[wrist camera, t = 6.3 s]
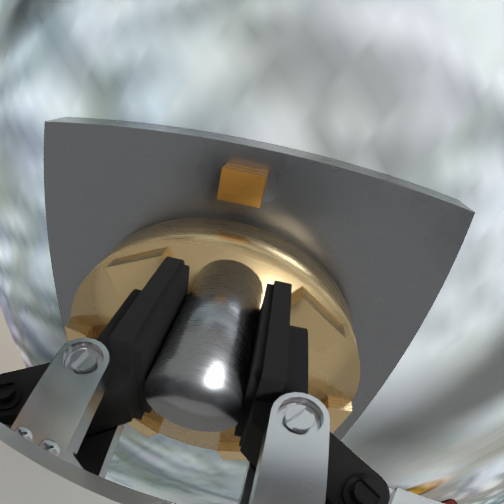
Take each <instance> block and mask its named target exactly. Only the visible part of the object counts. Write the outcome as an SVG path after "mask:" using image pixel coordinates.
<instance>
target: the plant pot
mask: <svg viewBox="0 0 504 504" xmlns="http://www.w3.org/2000/svg"><path fill="white" fill-rule="evenodd" d="M442 503H444V504H457V502H456V501H455V500H449V501H446V502H442Z"/></svg>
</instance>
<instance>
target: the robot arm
mask: <svg viewBox="0 0 504 504" xmlns="http://www.w3.org/2000/svg"><path fill="white" fill-rule="evenodd" d="M189 269H190V268H189V266H188V265H185V262H184V260H182V259H177V258H173V257H169V256H167V257H166V258H165V259H164V261H163V262H162V263H161V265H160V266H159V267H158V269H157V270H156V272H155V273H154V274H153V276H152V277H151V278H150V280H149V281H148V282H147V284H146V285H145V287H144V288H143V289H142V290H138V289H134V290H133V291H132V292H131V293H130V295H129V296H128V297H127V299H126V300H125V301H124V303H123V304H122V305H121V307H120V308H119V309H118V311H117V312H116V313H115V315H114V316H113V318H112V319H111V320H110V322H109V323H108V324H107V326H106V327H105V329H104V330H103V331H102V333H101V334H100V336H99V337H98V338H97V340H95V339H91V338H77V339H74V340H71V341H69V342H67V343H66V344H64V346H63V347H62V348H61V349H60V350H59V352H58V353H57V354H56V356H55V357H54V359H53V360H52V362H51V363H47V364H42V365H38V366H34V367H30V368H25V369H21V370H17V371H13V372H8V373H3V374H0V504H176V503H173V502H169V501H166V500H163V499H159V498H156V497H153V496H150V495H147V494H144V493H141V492H138V491H135V490H132V489H130V488H127V487H124V486H122V485H119V484H116V483H114V482H111V481H109V480H106V479H104V478H105V476H106V473H107V470H108V467H109V465H110V462H111V459H112V456H113V454H114V451H115V448H116V446H117V443H118V440H119V438H120V435H121V432H122V430H123V426H124V424H125V423H128V422H131V421H132V419H133V418H136V419H139V420H141V419H142V417H143V415H144V412H147V413H150V412H151V410H152V407H151V406H150V405H149V404H148V402H147V401H146V398H145V396H144V391H143V389H144V384H145V382H146V380H147V378H148V376H149V374H150V371H151V369H152V367H153V365H154V363H155V361H156V359H157V357H158V355H159V352H160V350H161V348H162V346H163V344H164V342H165V340H166V338H167V336H168V334H169V332H170V330H171V328H172V325H173V323H174V321H175V319H176V317H177V315H178V313H179V311H180V309H181V307H182V305H183V303H184V301H185V299H186V297H187V295H188V282H189ZM291 291H292V284H290V283H285V282H281V281H276V280H275V281H274V284H268V283H267V286H266V290H265V294H264V298H263V302H262V306H261V310H260V315H259V321H258V327H257V332H256V338H255V343H254V349H253V355H252V360H251V366H250V371H249V376H248V382H247V387H246V393H245V398H244V403H243V404H244V411H243V416H242V419H241V421H240V422H239V423H238V424H237V425H236V426H235V431H234V436H238V437H240V442H239V446H240V447H241V448H240V451H241V453H242V454H243V455H244V456H245V457H246V459H247V460H248V465H247V469H246V473H245V477H244V482H243V486H242V490H241V494H240V498H239V502H238V504H444V503H441V502H438V501H435V500H431V499H428V498H425V497H422V496H420V495H417V494H414V493H411V492H408V491H405V490H403V489H400V488H396V489H395V490H393V489H391V488H388V486H387V483H386V482H385V481H384V480H383V479H382V477H381V476H379V475H378V474H377V473H376V472H375V471H374V470H372V469H371V468H370V467H369V466H368V465H367V464H366V463H364V462H363V461H362V460H361V459H360V458H359V457H358V456H357V455H355V454H354V453H353V452H352V451H351V450H350V449H349V448H348V447H346V446H345V445H344V444H343V443H342V442H341V441H340V440H339V439H338V438H337V437H336V436H334V435H333V434H332V433H331V432H330V417H329V412H328V410H327V409H326V407H325V405H324V404H323V403H322V402H321V401H320V400H318V399H317V398H315V397H313V396H312V395H309V394H308V330H307V328H301V327H296V326H291V325H290V313H291Z"/></svg>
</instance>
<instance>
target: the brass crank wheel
mask: <svg viewBox="0 0 504 504" xmlns="http://www.w3.org/2000/svg"><path fill="white" fill-rule="evenodd" d="M167 256H169V257H173V258H177V259H182V260H184V262H185V265H188V266H189V268H190V269H189V282H188V295H187V297H186V299H185V301H184V303H183V305H182V307H181V309H180V311H179V313H178V315H177V317H176V319H175V321H174V323H173V325H172V328H171V330H170V332H169V334H168V336H167V338H166V340H165V342H164V344H163V346H162V348H161V350H160V352H159V355H158V357H157V359H156V361H155V363H154V365H153V367H152V369H151V371H150V374H149V376H148V378H147V380H146V382H145V384H144V389H143V391H144V396H145V398H146V401H147V402H148V404H149V405H150V406H151V407H152V410H151V412H150V413H147V412H144V415H143V417H142V419H141V420H139V419H136V418H133V419H132V421H131V422H128V423H126V424H128V425H129V426H131V427H132V428H134V429H135V430H137V431H139V432H140V433H142V434H143V435H145V436H147V437H151V436H153V435H156V434H158V433H160V434H162V435H165V436H167V437H170V438H172V439H175V440H178V441H180V442H183V443H187V444H190V445H194V446H198V447H202V448H207V449H213V450H217V452H218V453H219V454H220V456H221V457H222V458H223V460H247V459H246V457H245V456H244V455H243V454H242V453H241V451H240V448H241V447H240V446H239V442H240V437H238V436H234V431H235V426H236V425H237V424H238V423H239V422H240V421H241V419H242V416H243V411H244V404H243V403H244V398H245V393H246V387H247V382H248V376H249V371H250V366H251V360H252V355H253V349H254V343H255V338H256V332H257V327H258V321H259V315H260V310H261V306H262V302H263V298H264V294H265V290H266V286H267V283H268V284H274V281H275V280H276V281H281V282H285V283H290V284H292V291H291V313H290V325H291V326H296V327H301V328H307V330H308V394H309V395H312V396H313V397H315V398H317V399H318V400H320V401H321V402H322V403H323V404H324V405H325V407H326V409H327V410H328V412H329V417H330V432H331V433H332V434H333V432H334V431H335V430H336V429H337V428H338V427H339V426H340V425H341V424H342V423H343V422H344V420H345V419H346V418H347V417H348V416H349V415H350V414H351V412H352V403H351V402H352V400H353V398H354V396H355V394H356V392H357V388H358V384H359V380H360V361H359V355H358V349H357V344H356V338H355V333H354V328H353V323H352V319H351V314H350V311H349V308H348V306H347V303H346V301H345V298H344V296H343V295H342V293H341V291H340V290H339V288H338V286H337V285H336V283H335V282H334V281H333V279H332V278H331V277H330V276H329V274H328V273H327V272H326V271H325V270H324V269H323V268H322V267H321V266H320V265H319V264H318V263H317V262H316V261H315V260H314V259H312V258H311V257H310V256H309V255H308V254H306V253H305V252H303V251H302V250H301V249H299V248H298V247H296V246H295V245H293V244H292V243H290V242H288V241H286V240H284V239H282V238H280V237H278V236H276V235H275V234H273V233H271V232H268V231H265V230H262V229H260V228H257V227H254V226H251V225H248V224H244V223H240V222H235V221H231V220H226V219H216V218H206V217H199V218H180V219H175V220H169V221H163V222H160V223H157V224H154V225H151V226H148V227H145V228H143V229H142V230H140V231H138V232H136V233H134V234H132V235H130V236H129V237H128V238H126V239H125V240H124V241H122V242H121V243H120V244H119V245H117V246H116V247H115V248H114V249H113V250H112V251H111V252H110V253H109V254H108V255H107V256H106V257H105V258H104V259H103V260H102V261H101V262H100V263H99V264H98V265H97V266H96V267H95V268H94V269H93V270H92V271H91V272H90V273H89V275H88V276H87V277H86V278H85V279H84V281H83V282H82V283H81V285H80V287H79V289H78V290H77V292H76V294H75V297H74V300H73V304H72V307H71V317H70V320H69V321H68V322H67V324H66V325H65V332H66V337H67V342H69V341H71V340H74V339H77V338H91V339H95V340H97V338H98V337H99V336H100V334H101V333H102V331H103V330H104V329H105V327H106V326H107V324H108V323H109V322H110V320H111V319H112V318H113V316H114V315H115V313H116V312H117V311H118V309H119V308H120V307H121V305H122V304H123V303H124V301H125V300H126V299H127V297H128V296H129V295H130V293H131V292H132V291H133V290H134V289H138V290H142V289H143V288H144V287H145V285H146V284H147V282H148V281H149V280H150V278H151V277H152V276H153V274H154V273H155V272H156V270H157V269H158V267H159V266H160V265H161V263H162V262H163V261H164V259H165V258H166V257H167Z"/></svg>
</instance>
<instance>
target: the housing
mask: <svg viewBox="0 0 504 504" xmlns="http://www.w3.org/2000/svg"><path fill="white" fill-rule="evenodd" d="M44 187H45V206H46V219H47V230H48V239H49V248H50V255H51V263H52V269H53V276H54V282H55V287H56V293H57V298H58V303H59V308H60V313H61V317H62V322H63V326H64V330H65V325H66V324H67V322H68V321H69V320H70V317H71V307H72V304H73V300H74V297H75V294H76V292H77V290H78V289H79V287H80V285H81V283H82V282H83V281H84V279H85V278H86V277H87V276H88V275H89V273H90V272H91V271H92V270H93V269H94V268H95V267H96V266H97V265H98V264H99V263H100V262H101V261H102V260H103V259H104V258H105V257H106V256H107V255H108V254H109V253H110V252H111V251H112V250H113V249H114V248H115V247H116V246H117V245H119V244H120V243H121V242H122V241H124V240H125V239H126V238H128V237H129V236H130V235H132V234H134V233H136V232H138V231H140V230H142V229H143V228H145V227H148V226H151V225H154V224H157V223H160V222H163V221H169V220H175V219H180V218H199V217H206V218H216V219H226V220H231V221H235V222H240V223H244V224H248V225H251V226H254V227H257V228H260V229H262V230H265V231H268V232H271V233H273V234H275V235H276V236H278V237H280V238H282V239H284V240H286V241H288V242H290V243H292V244H293V245H295V246H296V247H298V248H299V249H301V250H302V251H303V252H305V253H306V254H308V255H309V256H310V257H311V258H312V259H314V260H315V261H316V262H317V263H318V264H319V265H320V266H321V267H322V268H323V269H324V270H325V271H326V272H327V273H328V274H329V276H330V277H331V278H332V279H333V281H334V282H335V283H336V285H337V286H338V288H339V290H340V291H341V293H342V295H343V296H344V298H345V301H346V303H347V306H348V308H349V311H350V314H351V319H352V323H353V328H354V333H355V338H356V344H357V349H358V355H359V361H360V380H359V384H358V388H357V392H356V394H355V396H354V398H353V400H352V402H351V403H352V412H351V414H350V415H349V416H348V417H347V418H346V419H345V420H344V422H343V423H342V424H341V425H340V426H339V427H338V428H337V429H336V430H335V431H334V432H333V435H334V436H336V437H337V438H338V439H339V440H341V439H342V437H343V436H344V435H345V434H346V433H347V431H348V430H349V429H350V428H351V427H352V425H353V424H354V423H355V422H356V420H357V419H358V418H359V416H360V415H361V414H362V413H363V411H364V410H365V409H366V407H367V406H368V405H369V403H370V402H371V401H372V399H373V398H374V397H375V395H376V394H377V392H378V391H379V390H380V388H381V387H382V385H383V384H384V383H385V381H386V380H387V378H388V377H389V375H390V374H391V372H392V371H393V369H394V368H395V366H396V365H397V363H398V362H399V360H400V359H401V357H402V356H403V354H404V353H405V351H406V349H407V348H408V346H409V345H410V343H411V341H412V340H413V338H414V336H415V335H416V333H417V331H418V330H419V328H420V326H421V324H422V323H423V321H424V319H425V317H426V316H427V314H428V312H429V310H430V309H431V307H432V305H433V303H434V301H435V299H436V297H437V295H438V294H439V292H440V290H441V288H442V286H443V284H444V282H445V280H446V278H447V276H448V274H449V272H450V269H451V267H452V265H453V263H454V261H455V259H456V257H457V254H458V252H459V250H460V248H461V245H462V243H463V241H464V238H465V236H466V234H467V231H468V229H469V226H470V224H471V221H472V219H473V216H474V214H475V212H473V211H472V210H471V209H470V208H468V207H467V206H466V205H464V204H463V203H462V202H460V201H459V200H457V199H454V198H452V197H449V196H446V195H444V194H441V193H438V192H436V191H433V190H430V189H427V188H425V187H422V186H419V185H416V184H413V183H410V182H407V181H404V180H401V179H398V178H395V177H392V176H389V175H386V174H383V173H379V172H376V171H373V170H370V169H366V168H363V167H360V166H356V165H353V164H349V163H346V162H342V161H338V160H335V159H331V158H327V157H323V156H320V155H316V154H312V153H308V152H304V151H299V150H295V149H291V148H287V147H282V146H278V145H273V144H269V143H264V142H259V141H254V140H249V139H244V138H239V137H234V136H228V135H223V134H217V133H211V132H205V131H199V130H192V129H185V128H178V127H171V126H164V125H155V124H147V123H138V122H128V121H117V120H105V119H90V118H72V117H64V118H59V119H55V120H50V121H45V130H44ZM65 334H66V332H65ZM66 338H67V337H66Z"/></svg>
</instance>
